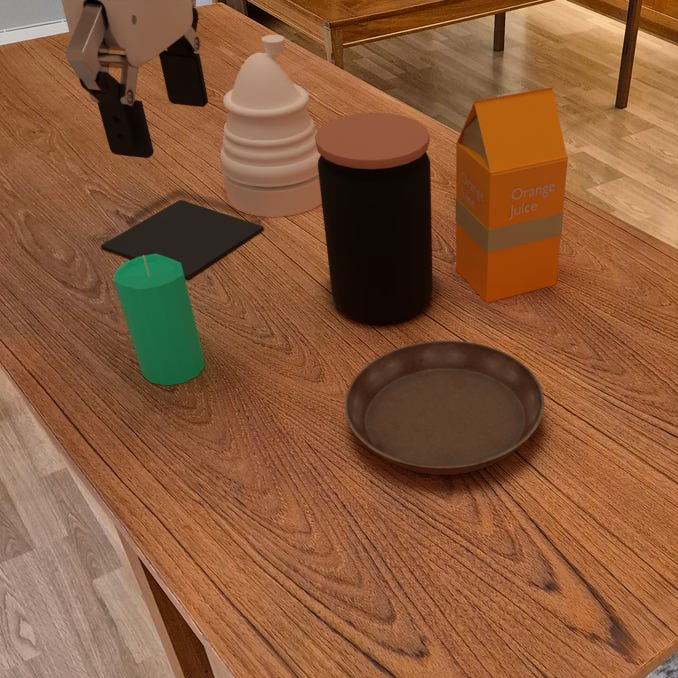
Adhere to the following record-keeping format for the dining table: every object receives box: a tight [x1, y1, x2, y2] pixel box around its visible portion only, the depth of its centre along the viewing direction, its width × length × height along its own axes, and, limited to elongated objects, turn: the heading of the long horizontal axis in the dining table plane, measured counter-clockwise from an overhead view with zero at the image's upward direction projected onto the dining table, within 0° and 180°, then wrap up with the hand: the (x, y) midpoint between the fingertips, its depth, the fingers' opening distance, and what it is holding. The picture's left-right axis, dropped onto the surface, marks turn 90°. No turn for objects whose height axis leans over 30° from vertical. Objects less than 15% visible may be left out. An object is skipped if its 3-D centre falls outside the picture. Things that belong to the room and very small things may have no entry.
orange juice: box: [455, 87, 569, 304], centre depth 92 cm, size 8×9×20 cm
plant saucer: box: [344, 340, 545, 476], centre depth 80 cm, size 18×18×3 cm
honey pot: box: [219, 34, 322, 218], centre depth 106 cm, size 13×13×18 cm
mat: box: [100, 199, 265, 281], centre depth 103 cm, size 13×13×1 cm
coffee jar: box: [315, 111, 434, 327], centre depth 89 cm, size 11×11×18 cm
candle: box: [113, 254, 206, 386], centre depth 82 cm, size 6×6×12 cm
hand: (162, 128), depth 69 cm, fingers open, 9 cm apart
